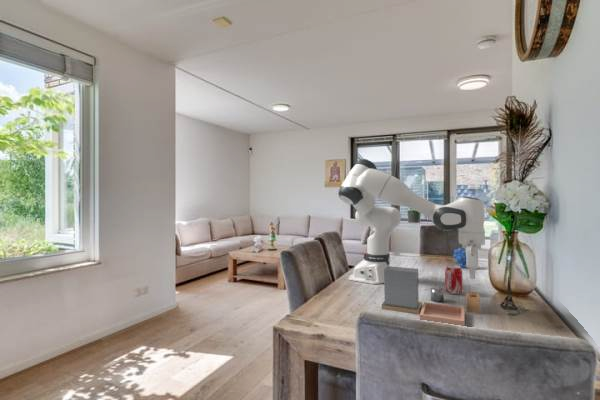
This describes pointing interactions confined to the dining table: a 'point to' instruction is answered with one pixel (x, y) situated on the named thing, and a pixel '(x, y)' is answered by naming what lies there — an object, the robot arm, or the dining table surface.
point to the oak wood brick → (473, 302)
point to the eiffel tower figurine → (511, 303)
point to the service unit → (401, 290)
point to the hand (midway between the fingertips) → (472, 275)
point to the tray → (442, 313)
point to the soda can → (453, 279)
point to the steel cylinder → (437, 294)
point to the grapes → (460, 257)
